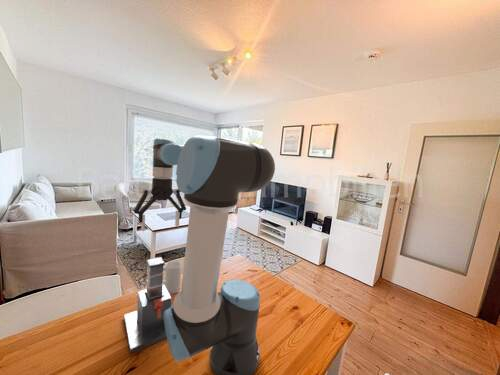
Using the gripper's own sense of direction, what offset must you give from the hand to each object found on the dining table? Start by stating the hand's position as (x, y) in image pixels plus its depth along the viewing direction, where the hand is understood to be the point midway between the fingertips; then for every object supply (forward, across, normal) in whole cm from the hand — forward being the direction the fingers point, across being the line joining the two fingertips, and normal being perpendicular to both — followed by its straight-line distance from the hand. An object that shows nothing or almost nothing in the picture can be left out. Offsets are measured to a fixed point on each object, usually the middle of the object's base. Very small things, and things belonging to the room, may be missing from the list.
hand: (160, 228), depth 88 cm
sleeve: (+29, +6, +18) cm, 34 cm away
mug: (+29, -4, +1) cm, 29 cm away
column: (+27, +6, +18) cm, 33 cm away
